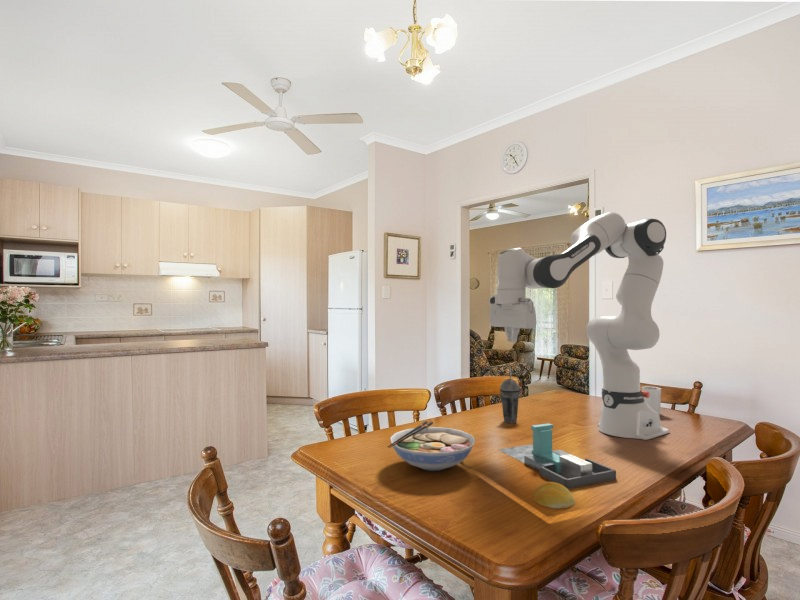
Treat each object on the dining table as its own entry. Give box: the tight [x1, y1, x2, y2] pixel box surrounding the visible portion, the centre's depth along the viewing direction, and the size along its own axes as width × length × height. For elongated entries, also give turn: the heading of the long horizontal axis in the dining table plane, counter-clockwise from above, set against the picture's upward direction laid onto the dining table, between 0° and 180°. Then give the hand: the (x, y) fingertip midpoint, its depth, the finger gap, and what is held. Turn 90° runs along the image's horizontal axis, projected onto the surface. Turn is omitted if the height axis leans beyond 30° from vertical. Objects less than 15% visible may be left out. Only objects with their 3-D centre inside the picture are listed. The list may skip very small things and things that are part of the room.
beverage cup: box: [499, 366, 521, 424], centre depth 159 cm, size 7×7×20 cm
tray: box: [539, 458, 617, 490], centre depth 104 cm, size 15×9×3 cm, turn 112°
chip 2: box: [570, 458, 592, 478], centre depth 103 cm, size 4×4×4 cm
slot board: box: [497, 443, 582, 472], centre depth 118 cm, size 12×20×3 cm, turn 22°
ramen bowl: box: [387, 420, 476, 472], centre depth 115 cm, size 25×23×8 cm
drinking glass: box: [641, 385, 662, 416], centre depth 169 cm, size 7×7×10 cm
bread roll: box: [533, 481, 576, 509], centre depth 93 cm, size 8×9×4 cm
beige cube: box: [559, 453, 581, 477], centre depth 106 cm, size 4×4×4 cm
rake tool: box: [530, 422, 560, 472], centre depth 113 cm, size 6×10×10 cm, turn 21°
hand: (512, 341), depth 138 cm, fingers closed
